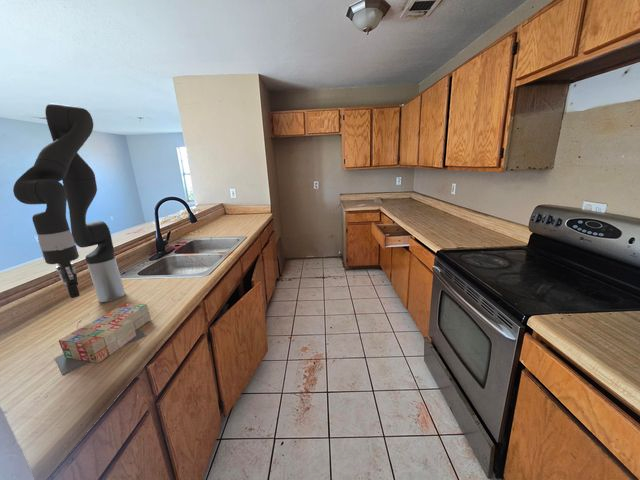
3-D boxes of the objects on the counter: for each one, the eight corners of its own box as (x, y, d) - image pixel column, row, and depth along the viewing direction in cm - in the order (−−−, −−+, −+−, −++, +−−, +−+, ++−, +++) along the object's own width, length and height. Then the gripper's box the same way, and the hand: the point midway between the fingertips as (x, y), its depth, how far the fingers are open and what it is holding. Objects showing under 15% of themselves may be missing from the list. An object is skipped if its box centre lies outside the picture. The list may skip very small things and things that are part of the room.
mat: (54, 358, 76) (54, 358, 76) (133, 324, 91) (133, 324, 91) (63, 375, 69) (62, 374, 69) (146, 335, 84) (145, 334, 84)
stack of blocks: (125, 302, 93) (154, 304, 91) (130, 318, 95) (158, 320, 92) (57, 340, 73) (92, 344, 71) (64, 359, 75) (99, 363, 72)
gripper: (38, 245, 80) (55, 295, 85) (44, 253, 72) (63, 308, 77) (70, 239, 86) (85, 286, 91) (79, 246, 78) (95, 298, 83)
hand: (75, 296), depth 84 cm, fingers closed
